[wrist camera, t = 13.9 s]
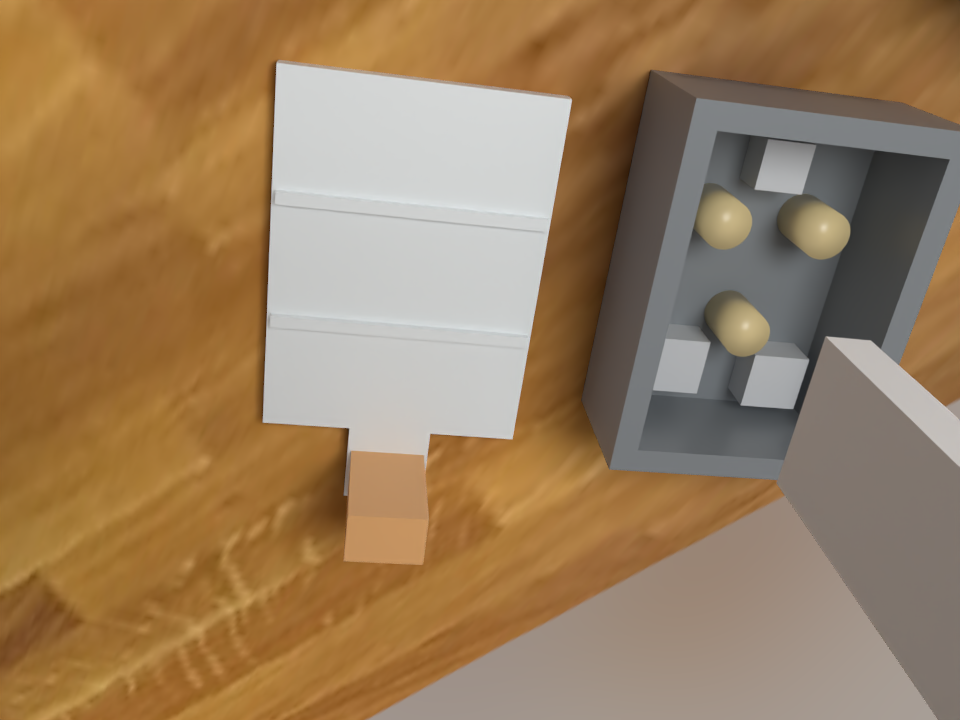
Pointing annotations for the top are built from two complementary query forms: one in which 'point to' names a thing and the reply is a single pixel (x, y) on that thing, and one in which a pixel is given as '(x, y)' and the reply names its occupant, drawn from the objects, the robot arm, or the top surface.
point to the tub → (758, 264)
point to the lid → (403, 273)
